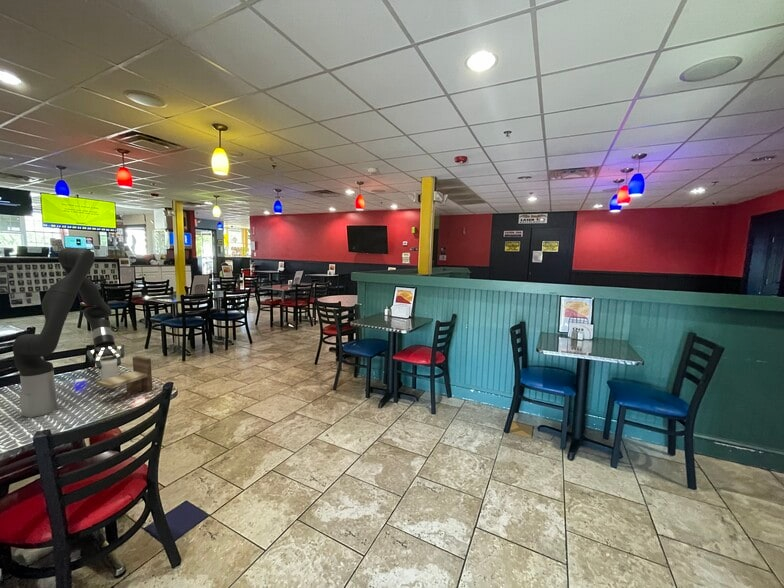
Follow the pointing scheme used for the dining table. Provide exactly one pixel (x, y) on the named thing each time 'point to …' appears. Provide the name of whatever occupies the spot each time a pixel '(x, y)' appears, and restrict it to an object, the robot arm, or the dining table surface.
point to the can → (108, 368)
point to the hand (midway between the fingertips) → (109, 366)
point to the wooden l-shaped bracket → (133, 377)
